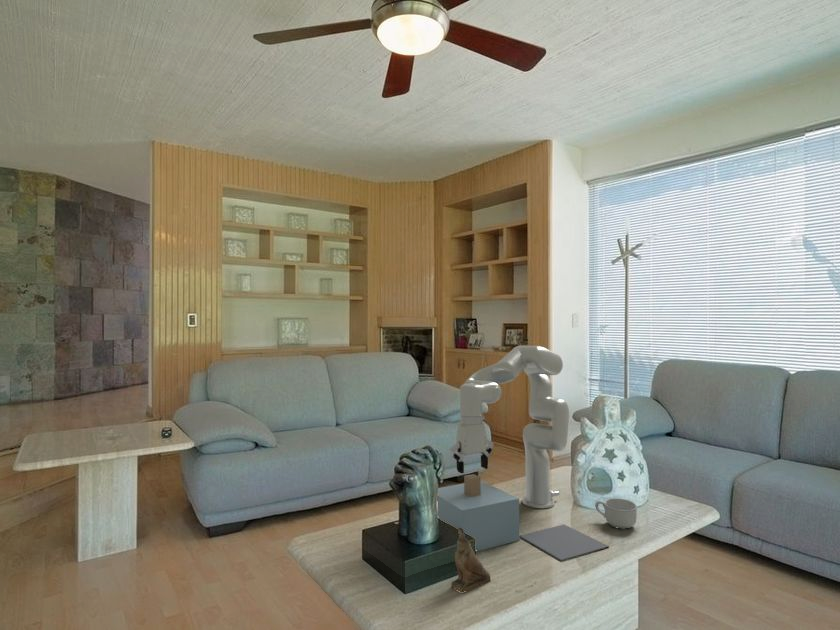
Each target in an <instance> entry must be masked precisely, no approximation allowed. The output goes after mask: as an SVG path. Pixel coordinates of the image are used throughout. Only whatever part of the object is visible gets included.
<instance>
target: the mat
mask: <svg viewBox="0 0 840 630" xmlns="http://www.w3.org/2000/svg"><path fill="white" fill-rule="evenodd" d="M519 539H522V540H524V541H525V542H527V543H528V544H530V543H531V544H530V545H532V544H533V545H532V546H534V547H536V548H537V547H538V548H537V549H539V550H541V551H543V552H544V553H546V554H547V555H550V556H552V558H554V557H555V559H556V558H557V559H556V560H558V561H560V562H561V561H562V562H565V561H568V560H567V559H569V560H572V559H575V558H578V557H577V556H579V557H581V556H580V555H582V556H585V555H584V554H586V555H588V554H587V553H589V554H592V553H591V552H593V553H595V552H594V551H596V552H598V551H597V550H599V551H601V550H600V549H603V548H606V547H609V548H610V546H609V545H608V544H605V543H603V542H602V541H600V540H597V539H595V538H593V537H591V536H588V535H587V534H585V533H584V532H580V531H578V530H576V529H575V528H572V527H571V526H569V525H566V524H561V525H556V526H552V527H548V528H544V529H540V530H536V531H532V532H527V533H523V534H519ZM606 549H607V548H606ZM603 550H604V549H603ZM574 557H575V558H574ZM571 558H572V559H571ZM564 560H565V561H564Z"/></svg>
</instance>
